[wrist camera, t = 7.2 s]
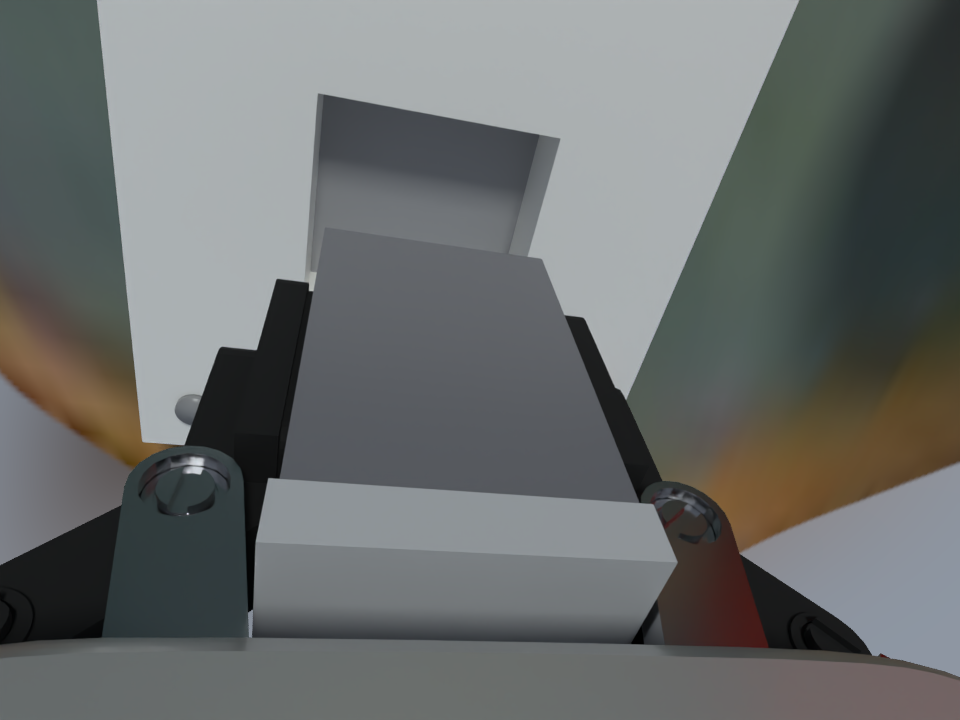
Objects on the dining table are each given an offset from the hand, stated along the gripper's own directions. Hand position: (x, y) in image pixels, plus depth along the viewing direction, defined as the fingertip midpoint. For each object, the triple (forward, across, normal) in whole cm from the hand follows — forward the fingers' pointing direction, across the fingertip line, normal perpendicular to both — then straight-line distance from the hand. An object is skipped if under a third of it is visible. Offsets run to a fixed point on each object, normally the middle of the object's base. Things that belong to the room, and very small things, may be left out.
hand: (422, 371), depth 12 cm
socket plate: (+8, 0, 0) cm, 8 cm away
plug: (+1, 0, 0) cm, 1 cm away
